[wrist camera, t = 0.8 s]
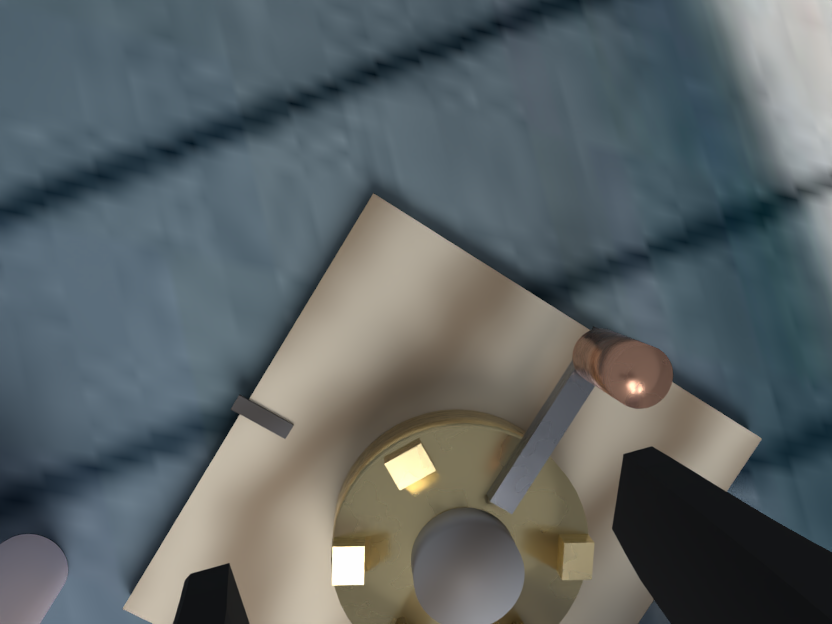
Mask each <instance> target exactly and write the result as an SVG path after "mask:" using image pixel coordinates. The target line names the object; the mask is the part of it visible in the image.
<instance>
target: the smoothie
mask: <svg viewBox="0 0 832 624" xmlns="http://www.w3.org/2000/svg"><path fill="white" fill-rule="evenodd" d="M67 575H68V564H67V560H66V557H65V555H64V553H63V551H62V550H61V549H60V548H59V546H58V545H56V544H55V543H54V542H53V541H51V540H50V539H48V538H45V537H43V536H40V535H35V534H22V535H17V536H14V537H12V538H9V539H8V540H6V541H4V542H3V543H1V544H0V624H40V623H41V621H42V619H43V618H44V616H45V615H46V613H47V611H48V610H49V608H50V606H51V605H52V603H53V602H54V600H55V598H56V597H57V595H58V593H59V592H60V590H61V588H62V587H63V585H64V583H65V581H66V579H67Z"/></svg>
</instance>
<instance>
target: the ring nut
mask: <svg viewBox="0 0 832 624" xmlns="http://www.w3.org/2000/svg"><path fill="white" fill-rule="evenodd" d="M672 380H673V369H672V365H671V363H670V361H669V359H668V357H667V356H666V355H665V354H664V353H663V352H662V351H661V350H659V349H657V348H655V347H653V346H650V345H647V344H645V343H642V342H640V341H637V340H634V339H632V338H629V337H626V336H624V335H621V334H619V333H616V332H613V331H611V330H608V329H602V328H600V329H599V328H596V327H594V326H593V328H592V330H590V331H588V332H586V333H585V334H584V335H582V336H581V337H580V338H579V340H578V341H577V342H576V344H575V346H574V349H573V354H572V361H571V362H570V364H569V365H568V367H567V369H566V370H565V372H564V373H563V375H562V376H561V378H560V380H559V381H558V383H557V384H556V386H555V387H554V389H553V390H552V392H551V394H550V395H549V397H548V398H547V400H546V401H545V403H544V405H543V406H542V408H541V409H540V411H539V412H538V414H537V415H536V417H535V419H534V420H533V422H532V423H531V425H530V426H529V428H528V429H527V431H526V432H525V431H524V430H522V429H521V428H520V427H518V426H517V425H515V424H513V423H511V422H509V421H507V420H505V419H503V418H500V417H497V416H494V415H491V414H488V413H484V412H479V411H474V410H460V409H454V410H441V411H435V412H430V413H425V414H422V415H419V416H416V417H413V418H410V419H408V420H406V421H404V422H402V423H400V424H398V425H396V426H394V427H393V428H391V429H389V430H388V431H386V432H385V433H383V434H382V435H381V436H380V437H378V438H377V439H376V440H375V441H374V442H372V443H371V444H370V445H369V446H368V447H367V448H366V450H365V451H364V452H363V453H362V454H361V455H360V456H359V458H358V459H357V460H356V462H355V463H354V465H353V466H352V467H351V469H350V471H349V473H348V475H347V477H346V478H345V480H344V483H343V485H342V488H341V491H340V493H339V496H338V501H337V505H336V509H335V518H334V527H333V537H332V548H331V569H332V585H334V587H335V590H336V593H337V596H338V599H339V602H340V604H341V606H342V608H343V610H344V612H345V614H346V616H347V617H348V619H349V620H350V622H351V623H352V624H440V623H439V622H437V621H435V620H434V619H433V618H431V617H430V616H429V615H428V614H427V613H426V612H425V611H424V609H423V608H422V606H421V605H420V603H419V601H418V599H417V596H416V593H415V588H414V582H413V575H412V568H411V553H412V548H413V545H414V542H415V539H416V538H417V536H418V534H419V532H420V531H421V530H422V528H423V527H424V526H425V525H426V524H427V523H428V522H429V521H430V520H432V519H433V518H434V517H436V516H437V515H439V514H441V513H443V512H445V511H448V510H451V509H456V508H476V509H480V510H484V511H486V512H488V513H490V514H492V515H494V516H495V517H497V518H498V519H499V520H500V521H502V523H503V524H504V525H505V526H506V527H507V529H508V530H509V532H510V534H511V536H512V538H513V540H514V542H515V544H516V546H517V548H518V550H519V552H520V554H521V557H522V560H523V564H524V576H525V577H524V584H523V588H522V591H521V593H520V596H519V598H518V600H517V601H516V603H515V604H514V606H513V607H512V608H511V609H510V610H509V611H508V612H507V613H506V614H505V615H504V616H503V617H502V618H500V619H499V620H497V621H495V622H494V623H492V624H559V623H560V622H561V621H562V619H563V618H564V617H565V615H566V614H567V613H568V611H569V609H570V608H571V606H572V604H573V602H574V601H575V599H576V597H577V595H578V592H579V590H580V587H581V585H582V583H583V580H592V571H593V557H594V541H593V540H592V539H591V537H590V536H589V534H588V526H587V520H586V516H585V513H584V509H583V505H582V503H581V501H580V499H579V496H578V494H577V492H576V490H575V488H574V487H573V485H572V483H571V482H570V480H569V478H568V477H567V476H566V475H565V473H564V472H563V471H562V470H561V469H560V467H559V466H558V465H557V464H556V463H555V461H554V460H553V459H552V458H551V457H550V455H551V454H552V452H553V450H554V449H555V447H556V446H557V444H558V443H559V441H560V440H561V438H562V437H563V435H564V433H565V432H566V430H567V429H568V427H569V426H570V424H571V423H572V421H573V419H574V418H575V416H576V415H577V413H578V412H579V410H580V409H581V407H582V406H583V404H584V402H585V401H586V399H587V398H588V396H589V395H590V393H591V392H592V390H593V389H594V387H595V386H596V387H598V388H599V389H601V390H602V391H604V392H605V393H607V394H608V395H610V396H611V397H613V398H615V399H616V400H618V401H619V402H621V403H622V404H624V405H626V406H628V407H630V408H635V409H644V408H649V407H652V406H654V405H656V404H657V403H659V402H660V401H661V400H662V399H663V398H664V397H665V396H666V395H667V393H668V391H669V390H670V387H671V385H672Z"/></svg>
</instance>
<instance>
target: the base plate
mask: <svg viewBox="0 0 832 624" xmlns="http://www.w3.org/2000/svg"><path fill="white" fill-rule="evenodd" d="M588 331H590V330H589V329H587V328H586V327H584V326H583V325H581V324H580V323H578V322H576V321H575V320H573V319H572V318H570V317H568V316H567V315H565V314H564V313H562V312H561V311H559V310H557V309H556V308H554V307H553V306H551V305H549V304H548V303H546V302H545V301H543V300H542V299H540V298H538V297H537V296H535V295H534V294H532V293H530V292H529V291H527V290H526V289H524V288H523V287H521V286H519V285H518V284H516V283H515V282H513V281H511V280H510V279H508V278H507V277H505V276H503V275H502V274H500V273H499V272H497V271H496V270H494V269H492V268H491V267H489V266H488V265H486V264H484V263H483V262H481V261H480V260H478V259H477V258H475V257H473V256H472V255H470V254H469V253H467V252H465V251H464V250H462V249H461V248H459V247H458V246H456V245H454V244H453V243H451V242H450V241H448V240H446V239H445V238H443V237H442V236H440V235H439V234H437V233H435V232H434V231H432V230H431V229H429V228H427V227H426V226H424V225H423V224H421V223H420V222H418V221H416V220H415V219H413V218H412V217H410V216H408V215H407V214H405V213H404V212H402V211H401V210H399V209H397V208H396V207H394V206H393V205H391V204H389V203H388V202H386V201H385V200H383V199H382V198H380V197H378V196H377V195H375V194H374V193H373V195H372V196H371V198H370V200H369V201H368V203H367V205H366V206H365V208H364V210H363V211H362V213H361V215H360V216H359V218H358V220H357V221H356V223H355V225H354V226H353V228H352V230H351V231H350V233H349V235H348V236H347V238H346V240H345V241H344V243H343V245H342V246H341V248H340V249H339V251H338V253H337V254H336V256H335V258H334V259H333V261H332V263H331V264H330V266H329V268H328V269H327V271H326V273H325V274H324V276H323V278H322V279H321V281H320V283H319V284H318V286H317V288H316V289H315V291H314V293H313V294H312V296H311V298H310V299H309V301H308V302H307V304H306V306H305V307H304V309H303V311H302V312H301V314H300V316H299V317H298V319H297V321H296V322H295V324H294V326H293V327H292V329H291V331H290V332H289V334H288V336H287V337H286V339H285V341H284V342H283V344H282V346H281V347H280V349H279V351H278V352H277V354H276V355H275V357H274V359H273V360H272V362H271V364H270V365H269V367H268V369H267V370H266V372H265V374H264V375H263V377H262V379H261V380H260V382H259V384H258V385H257V387H256V389H255V390H254V392H253V394H252V395H251V397H250V399H247V398H245V397H243V396H242V395H239V396H238V398H237V400H236V401H235V403H234V405H233V406H232V408H231V410H233V411H235V412H237V413H238V414H240V415H239V417H238V418H237V420H236V422H235V423H234V425H233V427H232V428H231V430H230V432H229V433H228V435H227V437H226V438H225V440H224V442H223V443H222V445H221V447H220V448H219V450H218V452H217V453H216V455H215V457H214V458H213V460H212V461H211V463H210V465H209V466H208V468H207V470H206V471H205V473H204V475H203V476H202V478H201V480H200V481H199V483H198V485H197V486H196V488H195V490H194V491H193V493H192V495H191V496H190V498H189V500H188V501H187V503H186V505H185V506H184V508H183V510H182V511H181V513H180V514H179V516H178V518H177V519H176V521H175V523H174V524H173V526H172V528H171V529H170V531H169V533H168V534H167V536H166V538H165V539H164V541H163V543H162V544H161V546H160V548H159V549H158V551H157V553H156V554H155V556H154V558H153V559H152V561H151V563H150V564H149V566H148V567H147V569H146V571H145V572H144V574H143V576H142V577H141V579H140V581H139V582H138V584H137V586H136V587H135V589H134V591H133V592H132V594H131V596H130V597H129V599H128V601H127V602H126V604H125V606H124V607H123V609H124V610H126V611H128V612H130V613H132V614H134V615H136V616H138V617H140V618H142V619H145V620H147V621H149V622H151V623H153V624H173V621H174V618H175V615H176V611H177V608H178V604H179V601H180V597H181V593H182V589H183V585H184V581H185V579H186V578H187V577H188V576H189V575H190V574H191V573H195V572H198V571H202V570H206V569H209V568H213V567H216V566H220V565H224V564H227V563H230V566H231V569H232V572H233V575H234V578H235V581H236V584H237V587H238V590H239V593H240V596H241V599H242V602H243V605H244V608H245V611H246V614H247V617H248V620H249V623H250V624H352V623H351V622H350V620H349V619H348V617H347V616H346V614H345V612H344V610H343V608H342V606H341V604H340V602H339V599H338V596H337V593H336V590H335V587H334V585H332V569H331V548H332V537H333V527H334V518H335V509H336V505H337V501H338V496H339V493H340V491H341V488H342V485H343V483H344V480H345V478H346V477H347V475H348V473H349V471H350V469H351V467H352V466H353V465H354V463H355V462H356V460H357V459H358V458H359V456H360V455H361V454H362V453H363V452H364V451H365V450H366V448H367V447H368V446H369V445H370V444H371V443H372V442H374V441H375V440H376V439H377V438H378V437H380V436H381V435H382V434H383V433H385V432H386V431H388V430H389V429H391V428H393V427H394V426H396V425H398V424H400V423H402V422H404V421H406V420H408V419H410V418H413V417H416V416H419V415H422V414H425V413H430V412H435V411H441V410H454V409H460V410H474V411H479V412H484V413H488V414H491V415H494V416H497V417H500V418H503V419H505V420H507V421H509V422H511V423H513V424H515V425H517V426H518V427H520V428H521V429H522V430H524V431H525V432H526V431H527V429H528V428H529V426H530V425H531V423H532V422H533V420H534V419H535V417H536V415H537V414H538V412H539V411H540V409H541V408H542V406H543V405H544V403H545V401H546V400H547V398H548V397H549V395H550V394H551V392H552V390H553V389H554V387H555V386H556V384H557V383H558V381H559V380H560V378H561V376H562V375H563V373H564V372H565V370H566V369H567V367H568V365H569V364H570V362H571V361H572V354H573V349H574V346H575V344H576V342H577V341H578V340H579V338H580V337H581V336H582V335H584V334H585V333H586V332H588ZM761 439H762V438H760V437H758V436H757V435H755V434H754V433H752V432H751V431H749V430H747V429H746V428H744V427H743V426H741V425H739V424H738V423H736V422H735V421H733V420H732V419H730V418H728V417H727V416H725V415H724V414H722V413H720V412H719V411H717V410H716V409H714V408H713V407H711V406H709V405H708V404H706V403H705V402H703V401H701V400H700V399H698V398H697V397H695V396H694V395H692V394H690V393H689V392H687V391H686V390H684V389H682V388H681V387H679V386H678V385H676V384H675V383H673V382H672V385H671V387H670V390H669V391H668V393H667V395H666V396H665V397H664V398H663V399H662V400H661V401H660V402H659V403H657V404H656V405H654V406H652V407H649V408H644V409H635V408H630V407H628V406H626V405H624V404H622V403H621V402H619V401H618V400H616V399H615V398H613V397H611V396H610V395H608V394H607V393H605V392H604V391H602V390H601V389H599V388H598V387H596V386H595V387H594V389H593V390H592V392H591V393H590V395H589V396H588V398H587V399H586V401H585V402H584V404H583V406H582V407H581V409H580V410H579V412H578V413H577V415H576V416H575V418H574V419H573V421H572V423H571V424H570V426H569V427H568V429H567V430H566V432H565V433H564V435H563V437H562V438H561V440H560V441H559V443H558V444H557V446H556V447H555V449H554V450H553V452H552V454H551V455H550V457H551V458H552V459H553V460H554V461H555V463H556V464H557V465H558V466H559V467H560V469H561V470H562V471H563V472H564V473H565V475H566V476H567V477H568V478H569V480H570V482H571V483H572V485H573V487H574V488H575V490H576V492H577V494H578V496H579V499H580V501H581V503H582V505H583V509H584V513H585V516H586V520H587V526H588V534H589V536H590V537H591V539H592V540H593V541H594V557H593V571H592V580H583V583H582V585H581V587H580V590H579V592H578V595H577V597H576V599H575V601H574V602H573V604H572V606H571V608H570V609H569V611H568V613H567V614H566V615H565V617H564V618H563V619H562V621H561V622H560V623H559V624H638V623H639V621H640V620H641V618H642V617H643V615H644V614H645V612H646V611H647V609H648V608H649V606H650V605H651V603H652V602H653V600H654V599H653V597H652V596H651V595H650V593H649V592H648V590H647V589H646V587H645V586H644V585H643V583H642V582H641V580H640V579H639V577H638V575H637V573H636V572H635V570H634V568H633V566H632V565H631V563H630V561H629V560H628V558H627V556H626V554H625V552H624V550H623V549H622V547H621V545H620V543H619V541H618V539H617V537H616V535H615V534H614V532H613V530H612V525H613V518H614V512H615V505H616V499H617V492H618V486H619V479H620V473H621V467H622V460H623V454H625V453H629V452H633V451H636V450H640V449H643V448H647V447H651V446H652V447H654V448H656V449H658V450H659V451H661V452H663V453H664V454H666V455H668V456H669V457H671V458H673V459H674V460H676V461H678V462H679V463H681V464H682V465H684V466H686V467H687V468H689V469H691V470H692V471H694V472H695V473H697V474H699V475H700V476H702V477H703V478H705V479H707V480H708V481H710V482H712V483H713V484H715V485H716V486H718V487H720V488H721V489H723V490H725V491H726V492H727V490H728V489H729V487H730V486H731V484H732V483H733V481H734V480H735V478H736V477H737V475H738V474H739V472H740V471H741V469H742V468H743V466H744V465H745V463H746V462H747V460H748V459H749V457H750V456H751V454H752V453H753V451H754V450H755V448H756V447H757V445H758V444H759V442H760V441H761ZM411 568H412V575H413V582H414V588H415V593H416V596H417V599H418V601H419V603H420V605H421V606H422V608H423V609H424V611H425V612H426V613H427V614H428V615H429V616H430V617H431V618H433V619H434V620H435V621H437V622H439V623H440V624H492V623H494V622H495V621H497V620H499V619H500V618H502V617H503V616H504V615H505V614H506V613H507V612H508V611H509V610H510V609H511V608H512V607H513V606H514V604H515V603H516V601H517V600H518V598H519V596H520V593H521V591H522V588H523V584H524V577H525V576H524V564H523V560H522V557H521V554H520V552H519V550H518V548H517V546H516V544H515V542H514V540H513V538H512V536H511V534H510V532H509V530H508V529H507V527H506V526H505V525H504V524H503V523H502V521H500V520H499V519H498V518H497V517H495V516H494V515H492V514H490V513H488V512H486V511H484V510H480V509H476V508H456V509H451V510H448V511H445V512H443V513H441V514H439V515H437V516H436V517H434V518H433V519H432V520H430V521H429V522H428V523H427V524H426V525H425V526H424V527H423V528H422V530H421V531H420V532H419V534H418V536H417V538H416V539H415V542H414V545H413V548H412V553H411Z"/></svg>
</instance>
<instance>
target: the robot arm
mask: <svg viewBox="0 0 832 624" xmlns="http://www.w3.org/2000/svg"><path fill="white" fill-rule="evenodd" d="M612 530H613V532H614V534H615V535H616V537H617V539H618V541H619V543H620V545H621V547H622V549H623V550H624V552H625V554H626V556H627V558H628V560H629V561H630V563H631V565H632V566H633V568H634V570H635V572H636V573H637V575H638V577H639V579H640V580H641V582H642V583H643V585H644V586H645V587H646V589H647V590H648V592H649V593H650V595H651V596H652V597H653V599H654V600H655V602H656V603H657V604H658V606H659V607H660V609H661V610H662V612H663V613H664V614H665V616H666V617H667V619H668V620H669V621H670V623H671V624H832V552H830V551H828V550H826V549H825V548H823V547H821V546H819V545H817V544H815V543H813V542H812V541H810V540H808V539H806V538H804V537H803V536H801V535H799V534H797V533H796V532H794V531H792V530H790V529H788V528H787V527H785V526H783V525H781V524H780V523H778V522H776V521H775V520H773V519H771V518H769V517H768V516H766V515H764V514H763V513H761V512H759V511H758V510H756V509H754V508H753V507H751V506H749V505H748V504H746V503H744V502H743V501H741V500H739V499H738V498H736V497H734V496H733V495H731V494H729V493H728V492H726V491H725V490H723V489H721V488H720V487H718V486H716V485H715V484H713V483H712V482H710V481H708V480H707V479H705V478H703V477H702V476H700V475H699V474H697V473H695V472H694V471H692V470H691V469H689V468H687V467H686V466H684V465H682V464H681V463H679V462H678V461H676V460H674V459H673V458H671V457H669V456H668V455H666V454H664V453H663V452H661V451H659V450H658V449H656V448H654V447H652V446H651V447H647V448H643V449H640V450H636V451H633V452H629V453H625V454H623V460H622V467H621V473H620V479H619V486H618V492H617V499H616V505H615V512H614V518H613V525H612ZM173 624H250V623H249V620H248V617H247V614H246V611H245V608H244V605H243V602H242V599H241V596H240V593H239V590H238V587H237V584H236V581H235V578H234V575H233V572H232V569H231V566H230V563H227V564H224V565H220V566H216V567H213V568H209V569H206V570H202V571H198V572H195V573H191V574H190V575H189V576H188V577H187V578H186V579H185V581H184V585H183V589H182V593H181V597H180V601H179V604H178V608H177V611H176V615H175V618H174V621H173Z"/></svg>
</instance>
